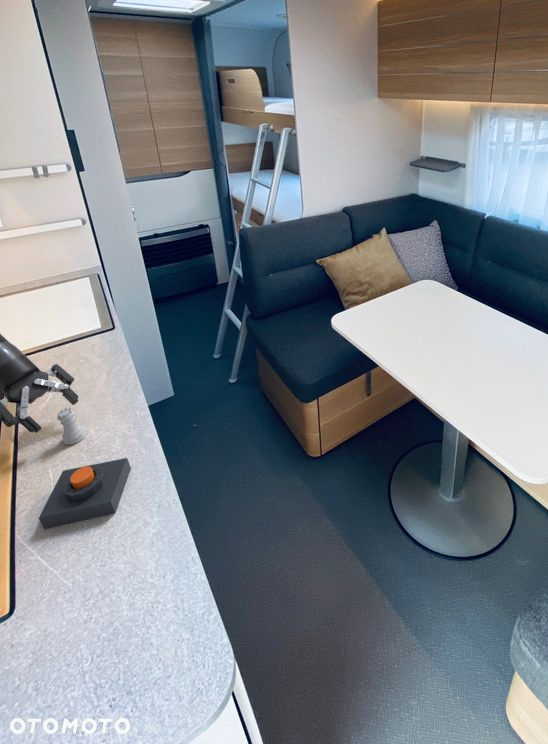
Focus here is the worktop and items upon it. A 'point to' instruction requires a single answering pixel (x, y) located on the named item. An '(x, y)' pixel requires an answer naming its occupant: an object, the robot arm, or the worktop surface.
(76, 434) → the rook chess piece
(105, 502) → the control box
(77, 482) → the button
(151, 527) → the worktop surface
